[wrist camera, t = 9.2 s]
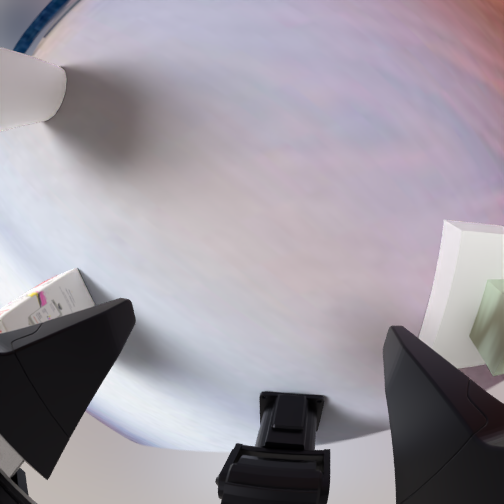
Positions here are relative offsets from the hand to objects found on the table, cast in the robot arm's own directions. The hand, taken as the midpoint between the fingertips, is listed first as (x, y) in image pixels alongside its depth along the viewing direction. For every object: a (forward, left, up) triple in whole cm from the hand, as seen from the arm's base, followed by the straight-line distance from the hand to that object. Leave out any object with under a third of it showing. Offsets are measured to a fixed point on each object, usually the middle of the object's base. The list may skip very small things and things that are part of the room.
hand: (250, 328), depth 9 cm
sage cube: (-5, -18, -9) cm, 21 cm away
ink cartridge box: (-8, +25, -12) cm, 29 cm away
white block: (-5, -18, -12) cm, 22 cm away
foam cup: (+15, +24, -12) cm, 31 cm away
